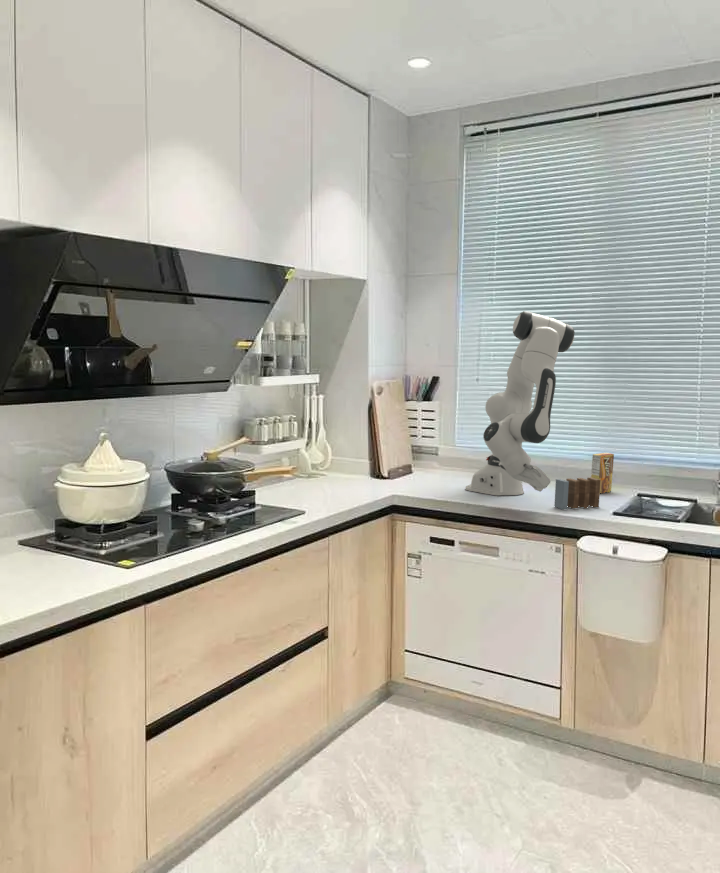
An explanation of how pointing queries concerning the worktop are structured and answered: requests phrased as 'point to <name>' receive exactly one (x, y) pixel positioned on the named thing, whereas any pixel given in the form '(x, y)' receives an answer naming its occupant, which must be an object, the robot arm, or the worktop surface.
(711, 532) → the worktop surface
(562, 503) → the loose tile
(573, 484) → the tile
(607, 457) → the candy box
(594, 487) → the brown wooden block
